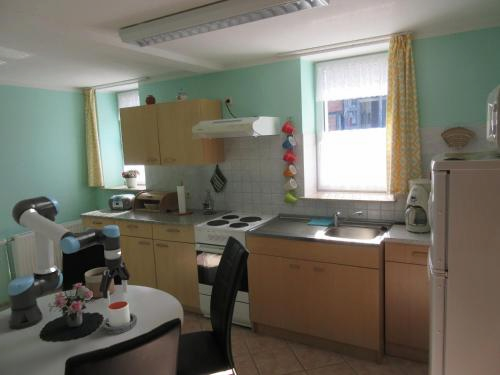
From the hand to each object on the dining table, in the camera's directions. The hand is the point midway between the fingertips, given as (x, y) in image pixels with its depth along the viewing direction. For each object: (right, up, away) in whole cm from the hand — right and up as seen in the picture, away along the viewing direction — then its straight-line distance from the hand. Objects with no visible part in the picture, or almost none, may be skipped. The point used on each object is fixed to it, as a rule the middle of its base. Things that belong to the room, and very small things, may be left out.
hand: (116, 298), depth 185 cm
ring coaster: (+1, -14, +2) cm, 14 cm away
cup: (+1, -14, +2) cm, 14 cm away
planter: (-25, -10, +43) cm, 51 cm away
